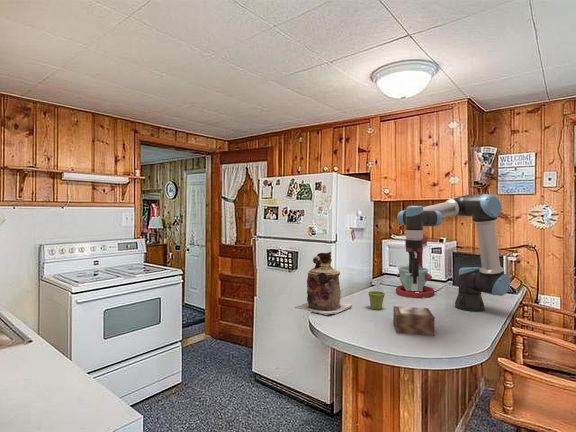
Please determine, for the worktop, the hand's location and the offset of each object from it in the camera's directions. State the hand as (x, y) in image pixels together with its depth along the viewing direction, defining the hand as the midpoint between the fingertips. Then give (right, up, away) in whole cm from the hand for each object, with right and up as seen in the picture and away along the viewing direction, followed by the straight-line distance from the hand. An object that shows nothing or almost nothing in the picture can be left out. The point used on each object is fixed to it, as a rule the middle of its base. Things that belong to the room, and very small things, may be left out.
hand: (413, 288), depth 171 cm
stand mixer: (+27, -18, +76) cm, 83 cm away
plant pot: (-8, -18, +36) cm, 42 cm away
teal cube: (0, 0, 0) cm, 0 cm away
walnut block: (0, -18, 0) cm, 18 cm away
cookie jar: (-38, -18, +35) cm, 55 cm away
